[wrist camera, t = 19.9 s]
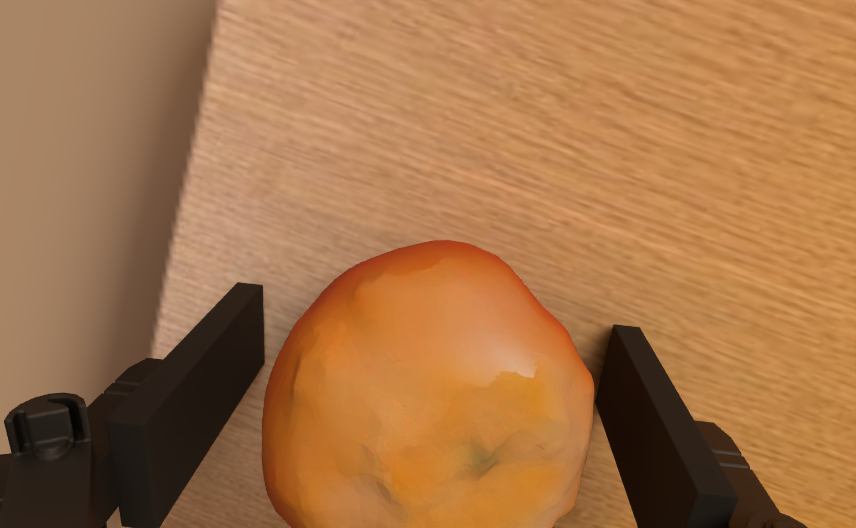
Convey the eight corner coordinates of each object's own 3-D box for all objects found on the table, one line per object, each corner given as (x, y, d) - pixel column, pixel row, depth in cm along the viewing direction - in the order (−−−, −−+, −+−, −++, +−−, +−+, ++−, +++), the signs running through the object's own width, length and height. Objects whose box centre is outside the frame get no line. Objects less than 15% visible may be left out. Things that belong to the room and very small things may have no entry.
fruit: (184, 349, 16) (172, 461, 9) (397, 195, 18) (532, 180, 11) (343, 534, 18) (440, 748, 11) (516, 379, 20) (695, 471, 13)
